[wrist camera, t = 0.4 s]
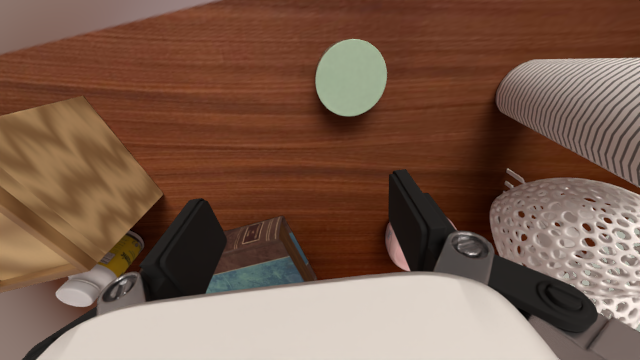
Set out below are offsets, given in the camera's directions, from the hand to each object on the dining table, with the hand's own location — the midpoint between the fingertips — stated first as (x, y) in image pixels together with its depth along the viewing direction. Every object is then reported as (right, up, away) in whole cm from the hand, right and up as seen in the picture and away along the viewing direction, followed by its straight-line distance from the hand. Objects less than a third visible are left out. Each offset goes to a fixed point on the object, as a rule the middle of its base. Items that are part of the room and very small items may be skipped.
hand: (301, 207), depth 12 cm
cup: (+24, +12, +14) cm, 31 cm away
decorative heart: (+29, -1, +23) cm, 37 cm away
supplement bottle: (-30, -8, +25) cm, 40 cm away
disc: (+4, +13, +13) cm, 19 cm away
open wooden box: (-29, +4, +18) cm, 34 cm away
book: (-13, -14, +29) cm, 35 cm away
